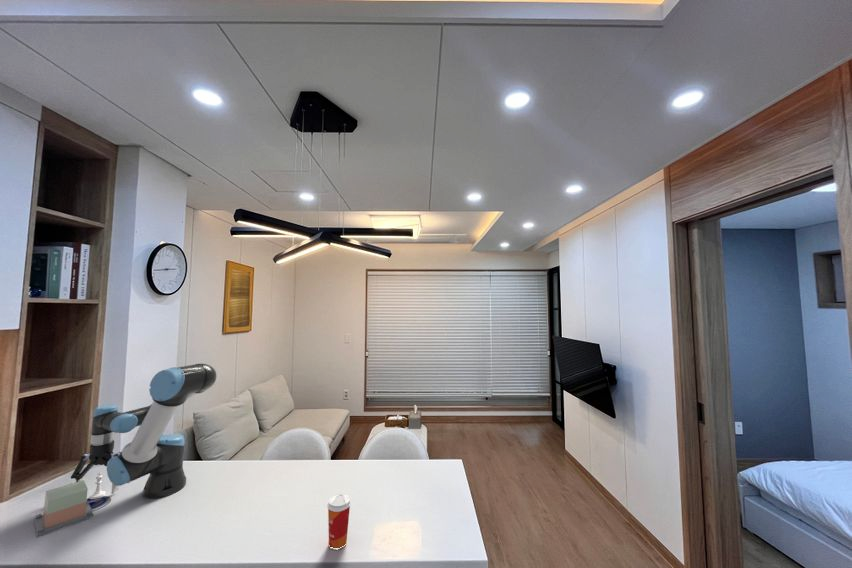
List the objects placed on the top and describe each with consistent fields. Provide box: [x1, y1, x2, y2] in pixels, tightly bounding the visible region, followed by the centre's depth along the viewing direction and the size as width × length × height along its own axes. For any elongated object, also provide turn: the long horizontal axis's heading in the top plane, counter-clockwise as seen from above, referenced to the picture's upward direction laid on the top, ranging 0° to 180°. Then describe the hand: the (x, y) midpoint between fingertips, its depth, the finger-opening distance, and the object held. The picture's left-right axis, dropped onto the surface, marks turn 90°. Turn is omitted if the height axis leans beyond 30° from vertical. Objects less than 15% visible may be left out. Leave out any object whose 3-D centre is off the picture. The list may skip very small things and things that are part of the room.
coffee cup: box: [326, 494, 352, 548], centre depth 113 cm, size 8×8×15 cm
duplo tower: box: [33, 480, 94, 538], centre depth 123 cm, size 14×14×11 cm
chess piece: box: [89, 471, 106, 500], centre depth 138 cm, size 5×5×10 cm
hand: (97, 493), depth 138 cm, fingers open, 12 cm apart
